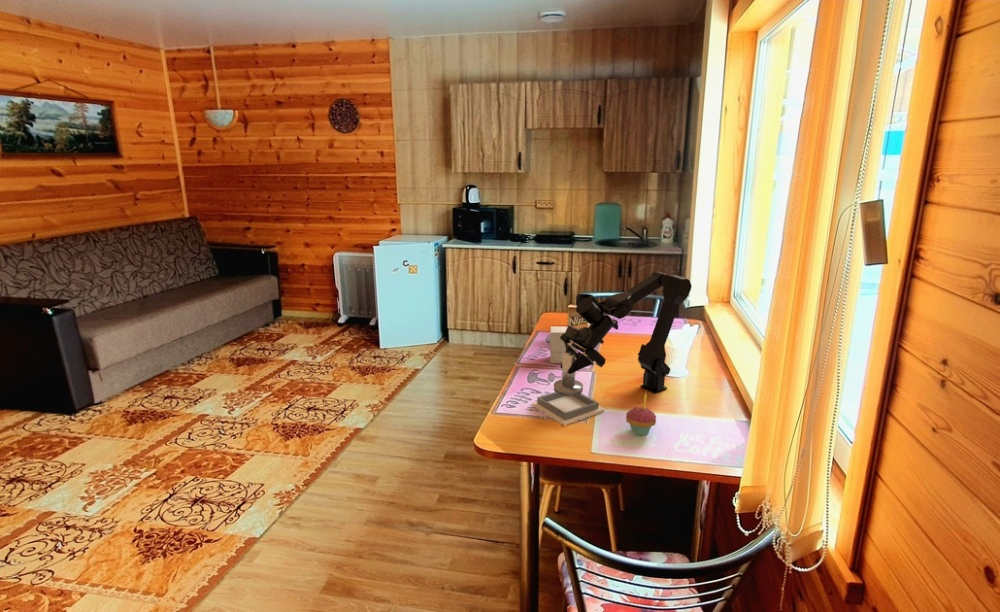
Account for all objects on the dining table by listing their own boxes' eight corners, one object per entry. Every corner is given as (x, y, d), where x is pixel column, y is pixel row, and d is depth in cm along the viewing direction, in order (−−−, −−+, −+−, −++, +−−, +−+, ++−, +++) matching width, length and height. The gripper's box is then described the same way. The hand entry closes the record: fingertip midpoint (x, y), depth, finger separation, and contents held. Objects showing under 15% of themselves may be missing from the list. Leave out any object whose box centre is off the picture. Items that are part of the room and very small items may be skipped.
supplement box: (568, 356, 216) (569, 326, 212) (569, 364, 209) (570, 332, 205) (549, 356, 217) (550, 325, 213) (549, 363, 210) (550, 332, 206)
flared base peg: (587, 387, 173) (588, 351, 170) (576, 398, 166) (577, 361, 163) (560, 381, 178) (561, 346, 174) (548, 391, 170) (549, 355, 167)
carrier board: (603, 411, 172) (604, 403, 171) (564, 426, 163) (564, 417, 162) (570, 393, 184) (570, 385, 183) (531, 405, 176) (531, 397, 175)
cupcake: (633, 421, 165) (636, 385, 162) (660, 430, 160) (663, 393, 157) (620, 433, 159) (622, 395, 156) (647, 442, 154) (650, 403, 150)
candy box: (566, 341, 233) (567, 306, 228) (568, 338, 236) (569, 304, 232) (587, 343, 230) (588, 308, 225) (589, 340, 233) (590, 305, 229)
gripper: (565, 308, 175) (534, 346, 174) (598, 325, 158) (564, 367, 157) (586, 328, 180) (556, 365, 179) (619, 346, 164) (587, 387, 163)
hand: (564, 370), depth 169 cm, fingers closed on flared base peg, 4 cm apart
